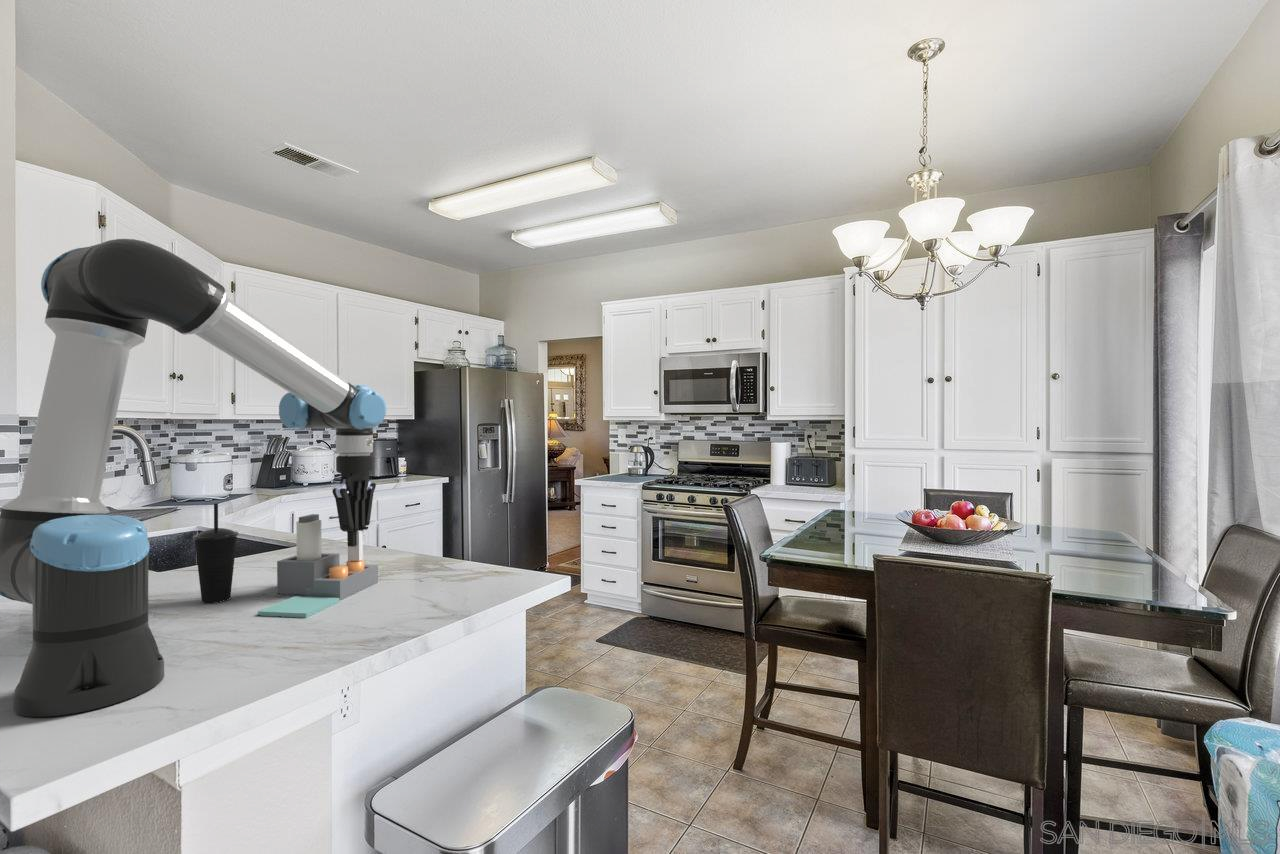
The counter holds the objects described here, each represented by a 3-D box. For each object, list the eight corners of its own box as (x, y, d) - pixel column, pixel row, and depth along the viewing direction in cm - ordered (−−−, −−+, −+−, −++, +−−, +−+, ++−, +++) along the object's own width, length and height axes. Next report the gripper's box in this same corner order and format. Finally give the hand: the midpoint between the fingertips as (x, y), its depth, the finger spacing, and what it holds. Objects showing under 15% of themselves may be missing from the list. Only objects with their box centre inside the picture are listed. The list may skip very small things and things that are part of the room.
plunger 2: (358, 585, 132) (358, 563, 132) (343, 585, 132) (342, 562, 132) (367, 581, 135) (367, 559, 135) (352, 581, 136) (352, 559, 136)
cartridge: (312, 592, 129) (311, 517, 129) (291, 591, 130) (291, 517, 130) (326, 586, 134) (326, 514, 134) (306, 585, 134) (306, 513, 134)
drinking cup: (221, 606, 120) (220, 506, 119) (183, 605, 120) (183, 506, 120) (247, 594, 127) (246, 501, 127) (211, 594, 127) (211, 501, 127)
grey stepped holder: (340, 600, 123) (340, 566, 123) (267, 597, 125) (267, 564, 125) (378, 582, 137) (377, 551, 137) (312, 580, 139) (312, 550, 139)
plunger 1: (341, 593, 126) (341, 570, 126) (325, 593, 126) (325, 569, 126) (351, 589, 129) (351, 566, 129) (336, 588, 130) (336, 565, 130)
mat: (306, 617, 112) (306, 613, 112) (257, 615, 114) (257, 611, 114) (339, 601, 122) (339, 597, 122) (294, 600, 124) (294, 596, 124)
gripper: (353, 456, 126) (353, 567, 127) (386, 453, 139) (387, 553, 140) (320, 456, 127) (321, 566, 128) (356, 452, 140) (357, 553, 141)
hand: (355, 559), depth 134 cm, fingers closed
